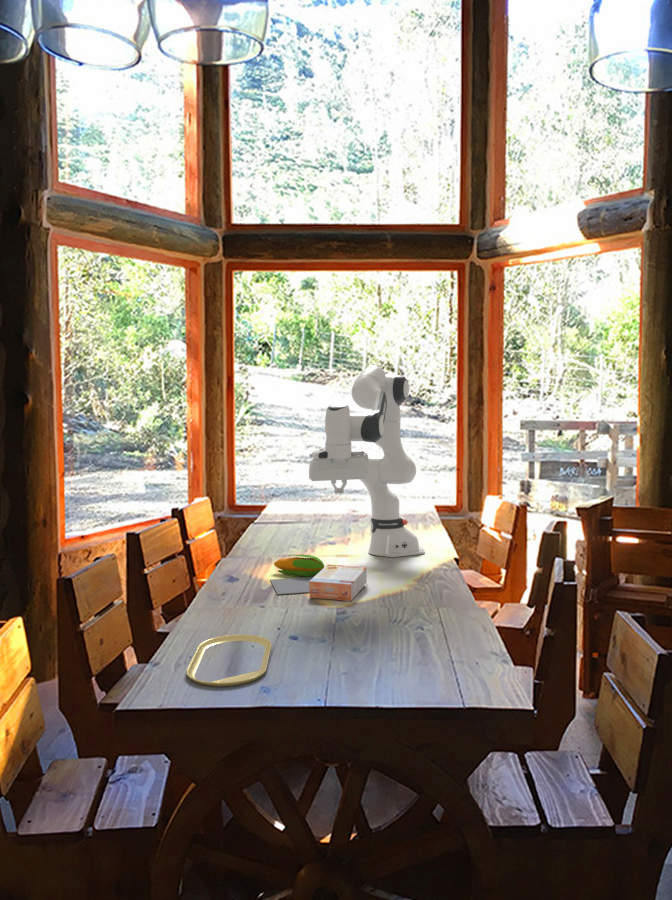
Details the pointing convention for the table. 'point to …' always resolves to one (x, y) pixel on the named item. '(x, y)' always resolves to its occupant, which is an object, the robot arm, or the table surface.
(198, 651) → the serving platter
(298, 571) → the corn
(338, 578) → the cracker box
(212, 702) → the table surface
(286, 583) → the mat
